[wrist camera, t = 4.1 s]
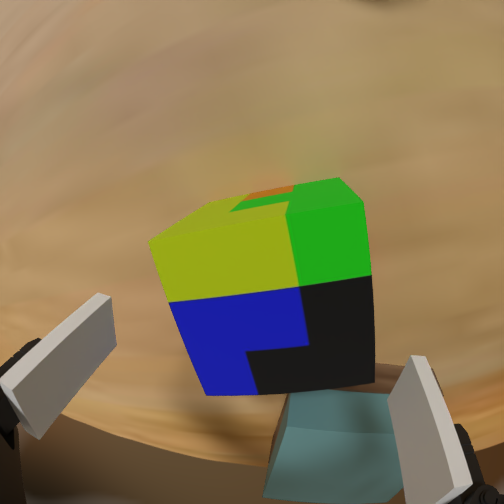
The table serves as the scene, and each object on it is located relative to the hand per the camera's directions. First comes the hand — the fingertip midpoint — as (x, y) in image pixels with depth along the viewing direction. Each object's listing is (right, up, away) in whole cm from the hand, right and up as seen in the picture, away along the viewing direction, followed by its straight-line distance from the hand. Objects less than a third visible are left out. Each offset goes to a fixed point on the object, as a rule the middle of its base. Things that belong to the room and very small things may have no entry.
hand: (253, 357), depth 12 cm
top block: (+9, -14, +13) cm, 21 cm away
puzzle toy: (+3, +4, +12) cm, 13 cm away
